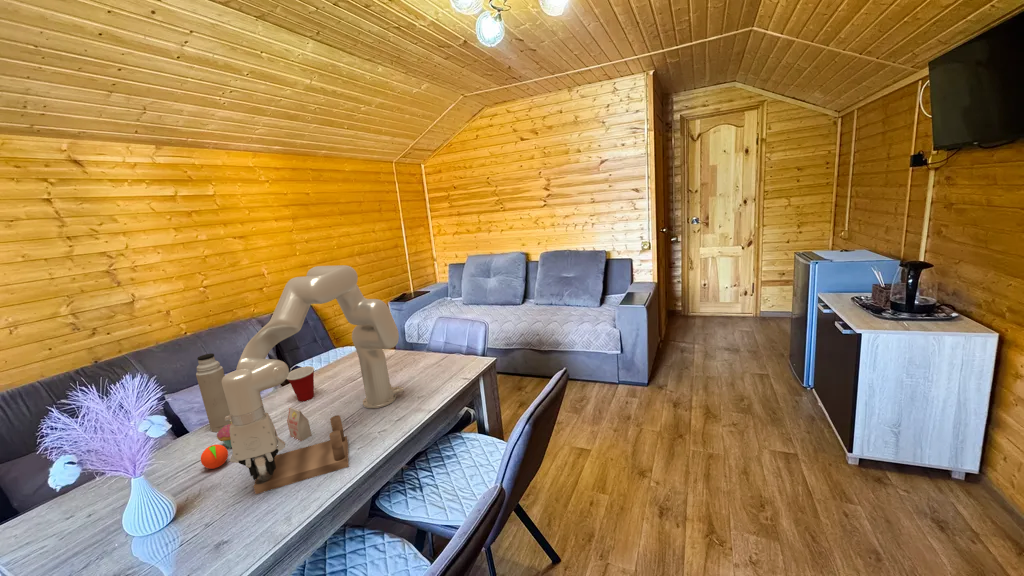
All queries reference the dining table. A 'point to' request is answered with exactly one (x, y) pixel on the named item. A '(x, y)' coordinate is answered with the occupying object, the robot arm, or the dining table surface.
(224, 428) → the cupcake
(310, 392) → the plastic cup
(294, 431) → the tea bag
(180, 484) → the dining table surface
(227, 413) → the thermos bottle
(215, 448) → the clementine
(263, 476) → the stool leg
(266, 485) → the stool seat
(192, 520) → the dining table surface
